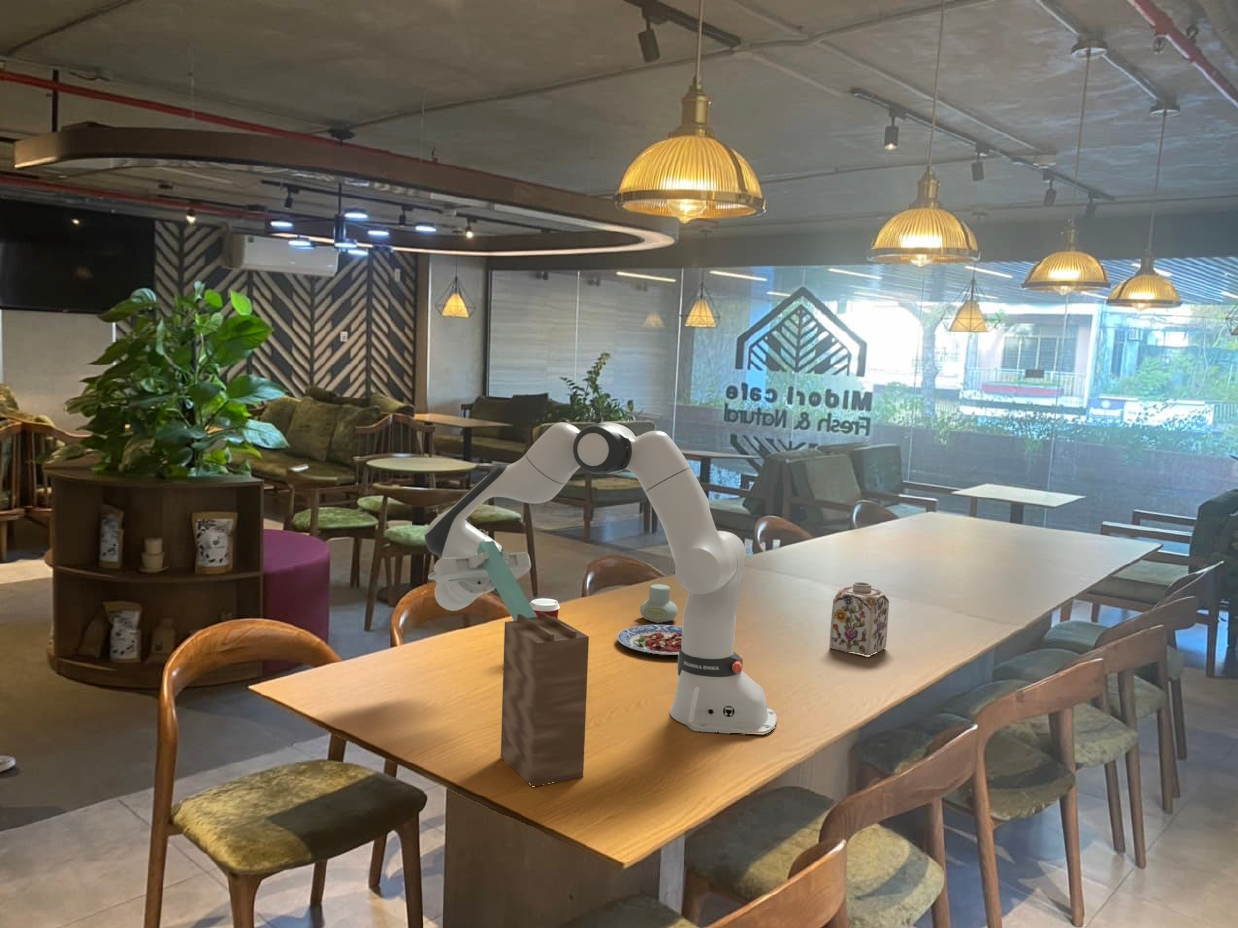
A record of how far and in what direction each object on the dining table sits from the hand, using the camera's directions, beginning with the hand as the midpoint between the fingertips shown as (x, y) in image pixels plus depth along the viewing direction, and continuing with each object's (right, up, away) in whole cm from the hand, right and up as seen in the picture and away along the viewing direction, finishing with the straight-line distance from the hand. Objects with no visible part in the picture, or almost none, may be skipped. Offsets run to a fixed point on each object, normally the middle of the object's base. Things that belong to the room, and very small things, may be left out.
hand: (495, 555), depth 195 cm
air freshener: (+36, -27, +83) cm, 95 cm away
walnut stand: (+11, -37, -18) cm, 43 cm away
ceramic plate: (+37, -30, +60) cm, 76 cm away
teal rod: (+2, -6, -4) cm, 8 cm away
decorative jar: (+89, -31, +64) cm, 114 cm away
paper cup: (+6, -30, +46) cm, 55 cm away
